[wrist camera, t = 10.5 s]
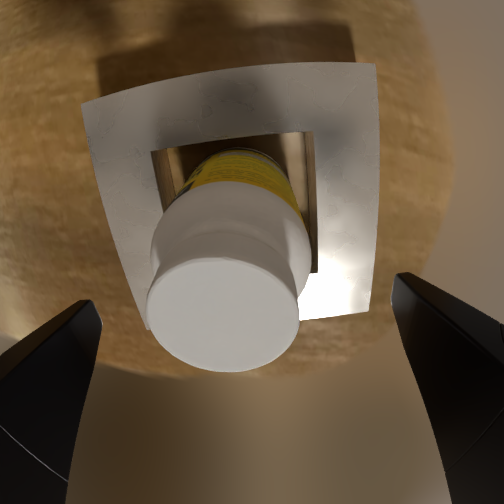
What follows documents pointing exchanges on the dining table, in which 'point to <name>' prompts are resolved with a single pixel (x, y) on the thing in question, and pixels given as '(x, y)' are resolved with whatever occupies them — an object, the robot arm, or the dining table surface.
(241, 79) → the frame
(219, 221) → the supplement bottle
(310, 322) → the dining table surface
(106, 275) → the dining table surface
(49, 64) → the dining table surface
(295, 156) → the dining table surface
